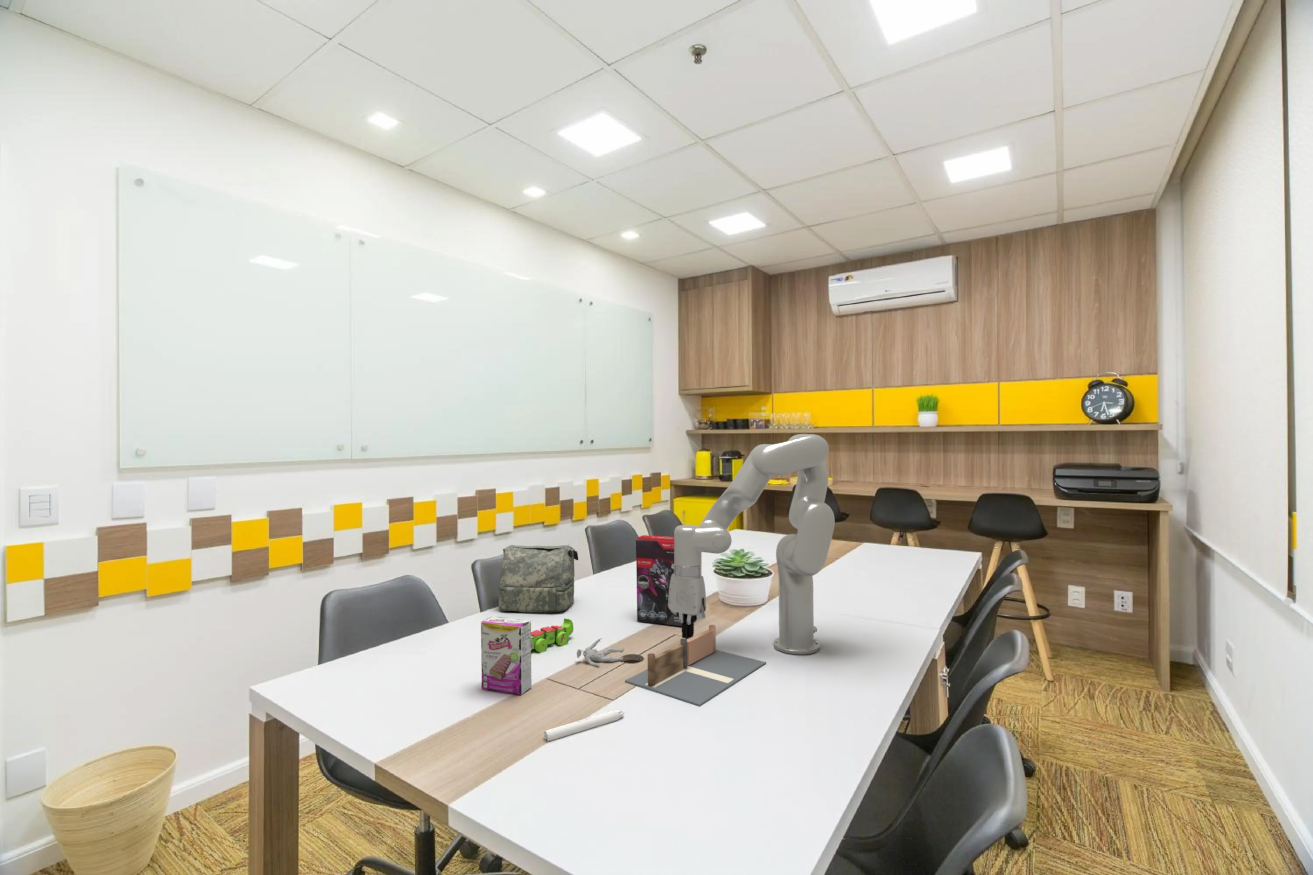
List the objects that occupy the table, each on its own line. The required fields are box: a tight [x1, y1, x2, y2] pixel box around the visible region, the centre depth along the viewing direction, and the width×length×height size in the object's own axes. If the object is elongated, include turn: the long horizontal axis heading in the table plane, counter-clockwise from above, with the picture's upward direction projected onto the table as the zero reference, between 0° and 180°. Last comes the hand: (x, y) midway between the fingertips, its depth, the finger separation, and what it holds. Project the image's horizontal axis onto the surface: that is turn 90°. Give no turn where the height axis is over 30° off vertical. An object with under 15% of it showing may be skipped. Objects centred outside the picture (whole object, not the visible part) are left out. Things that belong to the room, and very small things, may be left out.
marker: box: [543, 709, 625, 743], centre depth 125 cm, size 18×2×2 cm, turn 123°
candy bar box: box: [480, 616, 532, 696], centre depth 144 cm, size 11×5×16 cm, turn 71°
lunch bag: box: [498, 544, 579, 613], centre depth 213 cm, size 26×18×22 cm
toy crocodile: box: [531, 617, 574, 653], centre depth 173 cm, size 20×7×6 cm, turn 137°
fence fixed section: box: [647, 638, 688, 686], centre depth 150 cm, size 15×2×7 cm, turn 142°
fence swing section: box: [687, 624, 717, 665], centre depth 161 cm, size 13×2×7 cm, turn 142°
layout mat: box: [624, 649, 767, 707], centre depth 153 cm, size 31×22×1 cm
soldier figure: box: [576, 638, 625, 668], centre depth 161 cm, size 8×5×12 cm
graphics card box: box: [635, 534, 682, 627], centre depth 195 cm, size 17×7×27 cm, turn 67°
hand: (687, 636), depth 166 cm, fingers closed
